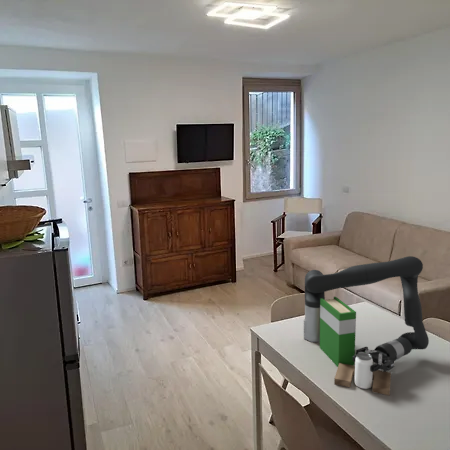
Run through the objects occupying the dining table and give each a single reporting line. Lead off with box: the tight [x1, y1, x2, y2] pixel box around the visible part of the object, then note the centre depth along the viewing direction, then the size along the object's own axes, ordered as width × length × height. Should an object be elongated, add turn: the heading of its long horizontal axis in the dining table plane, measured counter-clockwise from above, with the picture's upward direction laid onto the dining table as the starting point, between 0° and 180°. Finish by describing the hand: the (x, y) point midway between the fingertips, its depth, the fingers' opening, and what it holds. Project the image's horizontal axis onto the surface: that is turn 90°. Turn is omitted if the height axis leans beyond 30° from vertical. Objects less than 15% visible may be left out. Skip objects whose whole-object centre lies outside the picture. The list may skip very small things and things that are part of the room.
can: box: [354, 353, 374, 390], centre depth 157 cm, size 6×6×12 cm
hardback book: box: [319, 296, 357, 368], centre depth 177 cm, size 18×7×24 cm, turn 13°
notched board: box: [333, 363, 392, 396], centre depth 160 cm, size 20×12×2 cm, turn 66°
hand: (361, 364), depth 156 cm, fingers open, 8 cm apart
